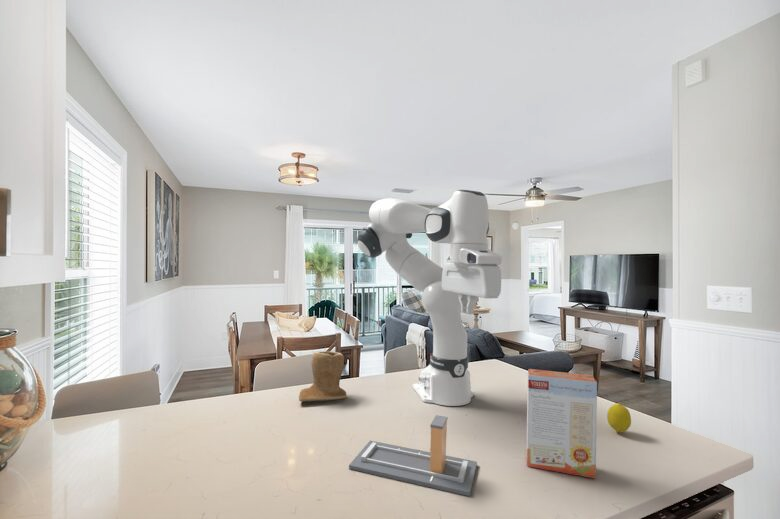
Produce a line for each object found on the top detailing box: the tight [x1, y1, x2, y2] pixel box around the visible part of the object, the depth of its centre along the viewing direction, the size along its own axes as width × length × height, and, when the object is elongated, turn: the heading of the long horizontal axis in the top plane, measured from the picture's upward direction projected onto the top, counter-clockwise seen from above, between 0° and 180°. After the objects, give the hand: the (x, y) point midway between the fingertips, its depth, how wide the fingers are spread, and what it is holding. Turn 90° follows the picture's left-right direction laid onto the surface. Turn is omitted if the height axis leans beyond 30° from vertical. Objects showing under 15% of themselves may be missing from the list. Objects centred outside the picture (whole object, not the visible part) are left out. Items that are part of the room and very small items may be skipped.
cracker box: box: [526, 368, 598, 479], centre depth 86 cm, size 14×6×21 cm, turn 71°
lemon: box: [606, 403, 632, 434], centre depth 104 cm, size 6×6×8 cm
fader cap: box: [430, 414, 448, 474], centre depth 83 cm, size 3×5×10 cm, turn 160°
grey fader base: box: [348, 440, 478, 497], centre depth 85 cm, size 26×12×2 cm, turn 71°
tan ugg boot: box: [298, 351, 347, 402], centre depth 124 cm, size 15×12×15 cm
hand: (467, 313), depth 93 cm, fingers closed
